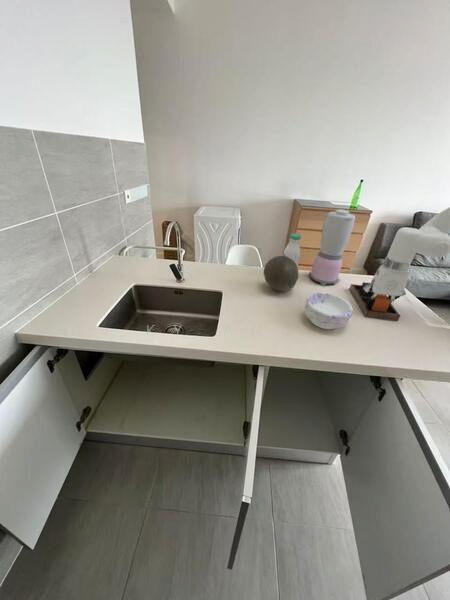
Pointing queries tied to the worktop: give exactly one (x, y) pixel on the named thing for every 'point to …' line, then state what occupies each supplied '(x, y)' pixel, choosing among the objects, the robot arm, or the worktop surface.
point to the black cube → (362, 291)
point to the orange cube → (381, 303)
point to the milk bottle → (293, 248)
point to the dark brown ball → (281, 273)
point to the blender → (332, 246)
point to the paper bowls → (328, 310)
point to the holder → (368, 312)
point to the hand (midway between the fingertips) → (376, 306)
